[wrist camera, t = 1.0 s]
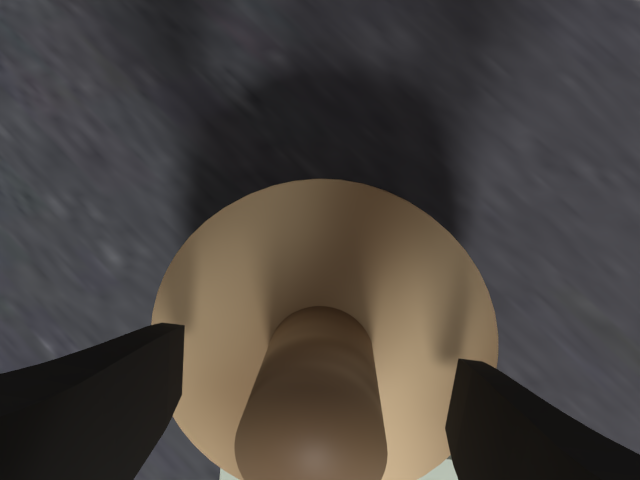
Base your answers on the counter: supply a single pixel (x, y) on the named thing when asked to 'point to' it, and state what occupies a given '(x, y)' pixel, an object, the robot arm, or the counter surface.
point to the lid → (323, 333)
